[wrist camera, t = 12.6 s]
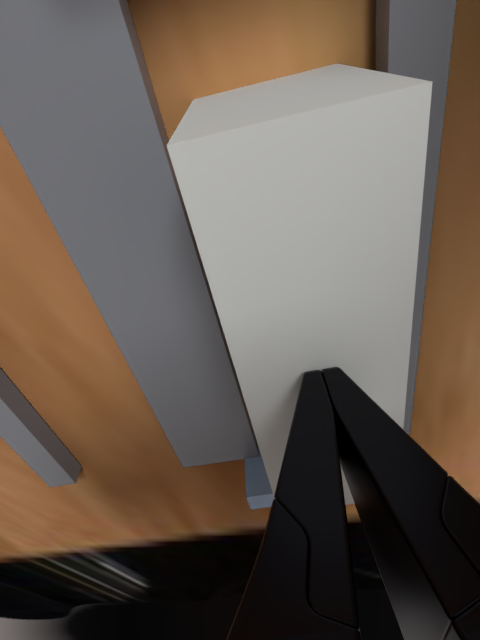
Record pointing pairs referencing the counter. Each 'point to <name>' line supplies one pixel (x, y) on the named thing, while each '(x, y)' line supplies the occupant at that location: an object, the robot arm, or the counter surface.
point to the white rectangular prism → (309, 232)
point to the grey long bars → (156, 211)
